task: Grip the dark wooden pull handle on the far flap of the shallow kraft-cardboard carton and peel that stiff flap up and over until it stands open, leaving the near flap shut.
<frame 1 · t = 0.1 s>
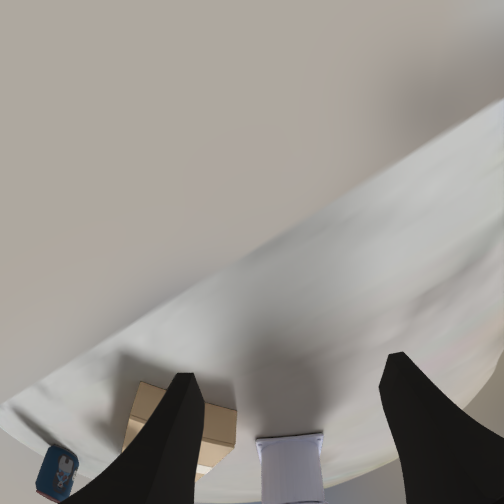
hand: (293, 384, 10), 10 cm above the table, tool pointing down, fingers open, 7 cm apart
soda can: (65, 451, 40), on the table
far flap: (140, 467, 24), point 6 cm above the table, hinge at 0.0°
carton: (172, 429, 30), on the table
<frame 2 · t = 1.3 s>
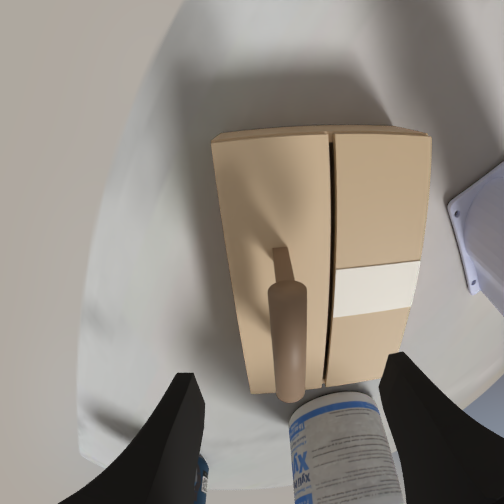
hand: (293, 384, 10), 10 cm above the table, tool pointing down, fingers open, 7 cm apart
soda can: (184, 456, 34), on the table
supplement tub: (332, 412, 28), on the table
far flap: (285, 324, 13), point 6 cm above the table, hinge at 0.0°
carton: (316, 254, 19), on the table
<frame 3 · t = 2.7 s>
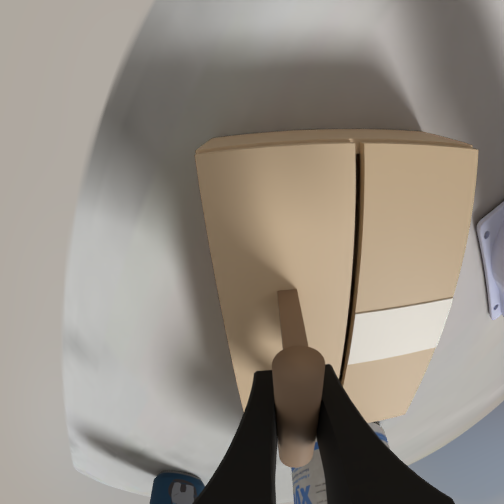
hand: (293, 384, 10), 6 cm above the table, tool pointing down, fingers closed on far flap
soda can: (181, 476, 31), on the table
supplement tub: (337, 438, 25), on the table
far flap: (292, 384, 10), point 6 cm above the table, hinge at 0.0°, touching gripper
carton: (327, 284, 16), on the table
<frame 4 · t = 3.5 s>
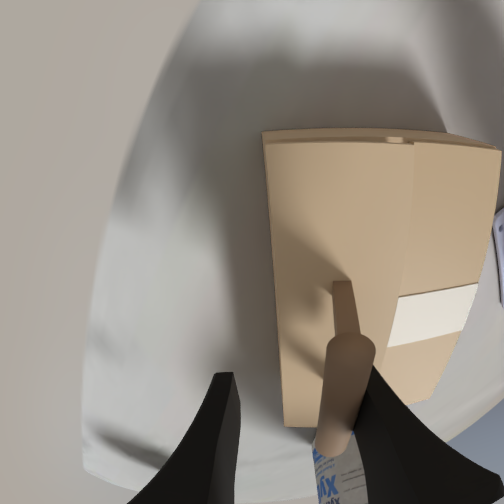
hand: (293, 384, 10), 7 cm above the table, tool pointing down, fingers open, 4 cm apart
supplement tub: (356, 429, 25), on the table
far flap: (337, 372, 10), point 7 cm above the table, hinge at 9.6°, touching gripper
carton: (361, 273, 16), on the table
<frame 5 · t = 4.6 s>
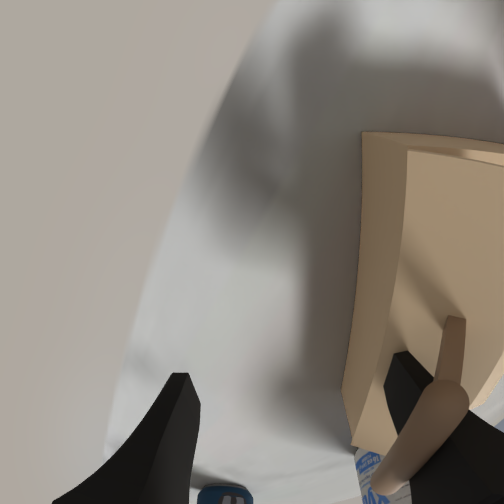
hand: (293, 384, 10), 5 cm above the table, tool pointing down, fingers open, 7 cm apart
soda can: (225, 488, 29), on the table
supplement tub: (396, 437, 23), on the table
far flap: (422, 413, 8), point 7 cm above the table, hinge at 34.9°, touching gripper
carton: (436, 284, 14), on the table
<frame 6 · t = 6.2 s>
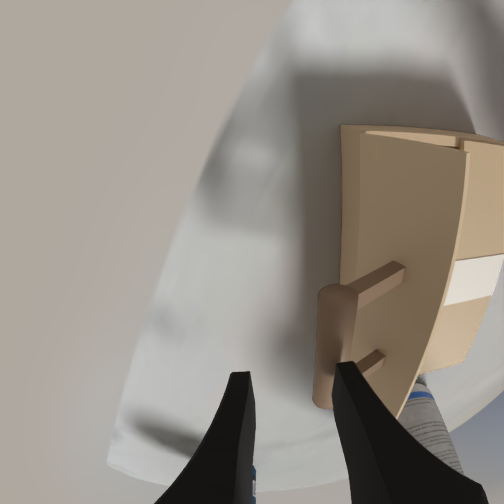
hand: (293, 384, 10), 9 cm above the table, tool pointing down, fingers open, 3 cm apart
supplement tub: (389, 405, 27), on the table
far flap: (360, 337, 12), point 7 cm above the table, hinge at 61.0°
carton: (409, 249, 18), on the table
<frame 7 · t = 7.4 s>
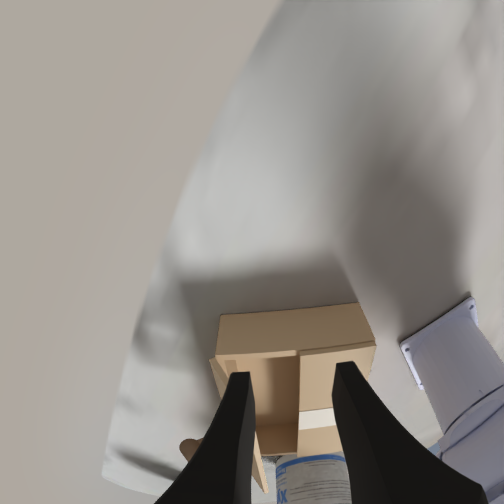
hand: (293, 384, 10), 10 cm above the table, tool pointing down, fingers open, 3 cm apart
supplement tub: (310, 456, 33), on the table
far flap: (219, 454, 18), point 7 cm above the table, hinge at 61.3°
carton: (292, 379, 25), on the table
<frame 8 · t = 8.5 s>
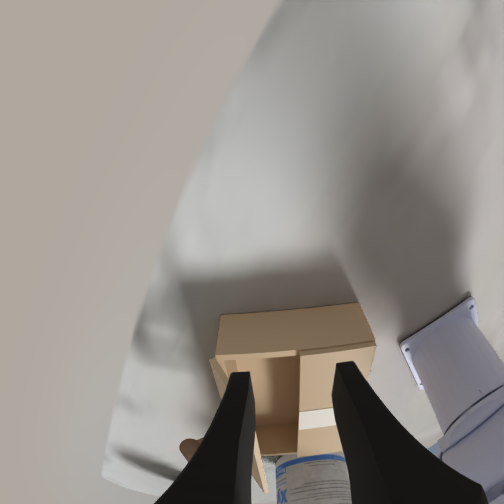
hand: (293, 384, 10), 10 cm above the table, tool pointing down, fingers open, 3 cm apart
supplement tub: (310, 456, 33), on the table
far flap: (219, 454, 18), point 7 cm above the table, hinge at 61.3°
carton: (292, 379, 25), on the table
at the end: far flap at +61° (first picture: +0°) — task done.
